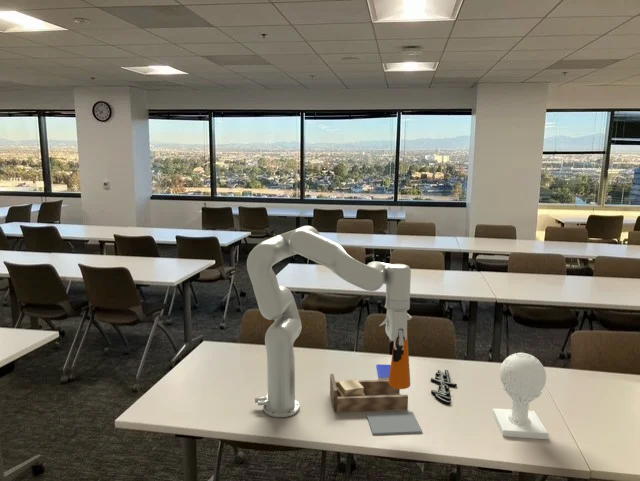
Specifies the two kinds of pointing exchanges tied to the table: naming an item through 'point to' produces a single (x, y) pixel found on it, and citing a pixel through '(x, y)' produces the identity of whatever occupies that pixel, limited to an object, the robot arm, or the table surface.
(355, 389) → the offcut top
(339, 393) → the offcut middle
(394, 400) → the wooden box
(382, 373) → the hard drive
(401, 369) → the spray bottle
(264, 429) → the table surface
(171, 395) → the table surface
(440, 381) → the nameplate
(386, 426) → the mat
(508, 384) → the trophy
